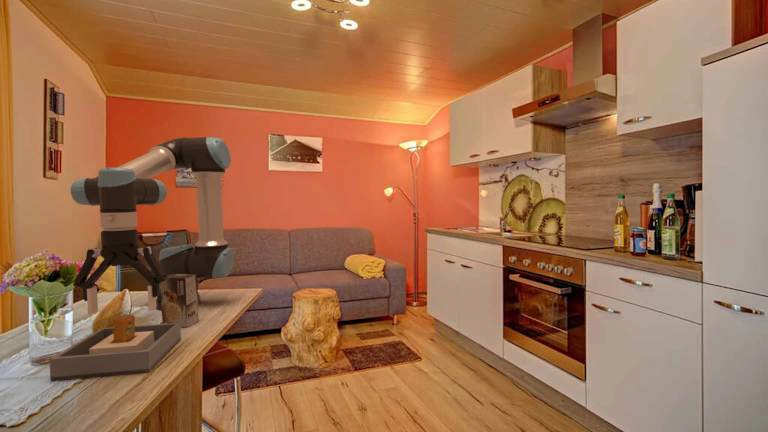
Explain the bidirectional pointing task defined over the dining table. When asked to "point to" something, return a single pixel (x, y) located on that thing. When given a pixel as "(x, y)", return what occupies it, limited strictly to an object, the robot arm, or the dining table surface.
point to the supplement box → (124, 328)
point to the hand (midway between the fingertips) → (123, 311)
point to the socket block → (124, 344)
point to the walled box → (113, 355)
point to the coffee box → (180, 299)
